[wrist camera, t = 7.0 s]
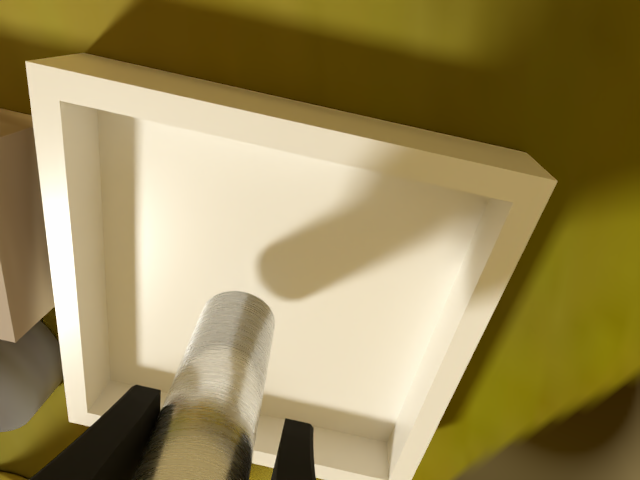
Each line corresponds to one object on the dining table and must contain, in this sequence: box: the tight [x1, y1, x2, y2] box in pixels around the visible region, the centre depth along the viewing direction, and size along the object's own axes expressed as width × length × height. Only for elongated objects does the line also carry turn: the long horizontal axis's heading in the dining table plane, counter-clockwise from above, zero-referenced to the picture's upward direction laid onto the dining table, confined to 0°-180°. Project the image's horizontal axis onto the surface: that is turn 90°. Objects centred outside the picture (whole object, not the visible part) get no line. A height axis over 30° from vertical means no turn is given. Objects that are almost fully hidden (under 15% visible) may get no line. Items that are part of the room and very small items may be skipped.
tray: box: [25, 53, 558, 480], centre depth 15 cm, size 14×14×2 cm
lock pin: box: [132, 291, 275, 480], centre depth 11 cm, size 3×3×8 cm
